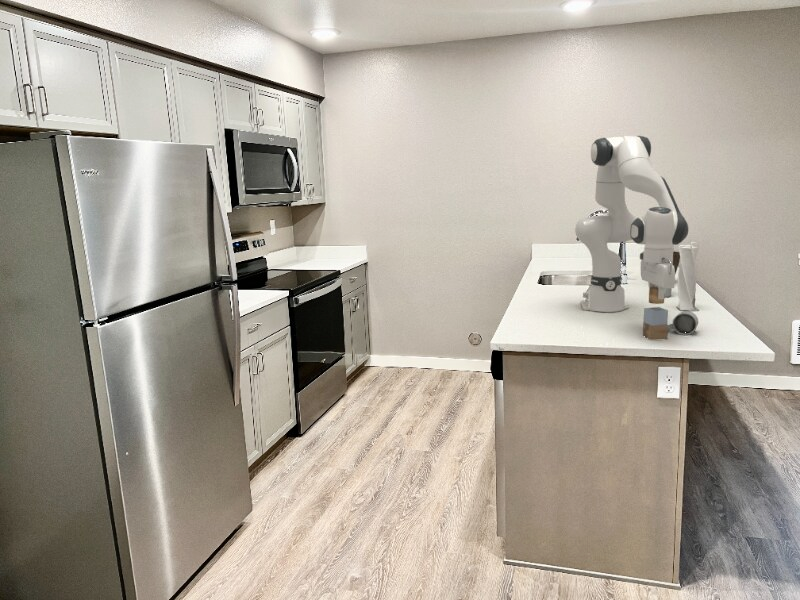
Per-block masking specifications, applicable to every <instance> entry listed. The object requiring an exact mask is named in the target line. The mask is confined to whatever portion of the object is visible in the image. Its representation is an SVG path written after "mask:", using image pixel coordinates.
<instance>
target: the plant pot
mask: <svg viewBox="0 0 800 600" xmlns="http://www.w3.org/2000/svg"><path fill="white" fill-rule="evenodd" d="M680 261H681V259H680V253H679V251H675V250H674V251H673V266H674V268H675V275H676V274H677V270H678V269H679V265H680Z"/></svg>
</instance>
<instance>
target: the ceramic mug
mask: <svg viewBox="0 0 800 600" xmlns="http://www.w3.org/2000/svg"><path fill="white" fill-rule="evenodd" d="M667 325H668V332H670V331H673V330H674V331H675V333H677V334H679V335H681V334H686V335H685V336H688V335H691V334H693V333H694V332H695V331H696V329H697V327H698V325H699V318H698V317H697V314H695V313H694V311H680V312H679V313H678V314H677V315H676V316H675V317H674V318H673V320H672V323H670V324H667ZM685 332H686V333H685Z"/></svg>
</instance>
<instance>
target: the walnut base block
mask: <svg viewBox="0 0 800 600" xmlns="http://www.w3.org/2000/svg"><path fill="white" fill-rule="evenodd" d="M642 325H643V326H642V336H643V337H644V336H645V337H644V338H646V339H647V338H648V339H647V340H649V339H665V340H668V335H669V331H668V325H669V324H667V325H656V326H651V325H649V324H647V323H644V321H642Z"/></svg>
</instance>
